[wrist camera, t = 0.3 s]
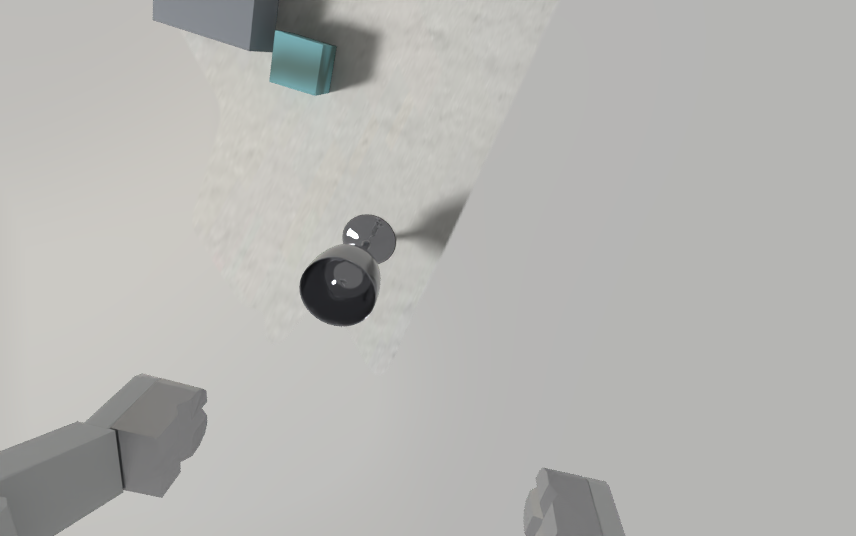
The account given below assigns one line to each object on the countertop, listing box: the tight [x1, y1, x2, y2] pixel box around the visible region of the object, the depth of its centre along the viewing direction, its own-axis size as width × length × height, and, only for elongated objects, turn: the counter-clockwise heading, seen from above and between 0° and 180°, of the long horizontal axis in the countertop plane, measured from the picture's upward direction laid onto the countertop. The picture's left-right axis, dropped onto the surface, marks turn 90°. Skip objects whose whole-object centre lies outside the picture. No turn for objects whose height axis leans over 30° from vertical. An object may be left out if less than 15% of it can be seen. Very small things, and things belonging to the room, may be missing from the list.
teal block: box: [269, 30, 337, 96], centre depth 48 cm, size 5×5×5 cm
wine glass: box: [300, 215, 395, 326], centre depth 52 cm, size 8×8×15 cm
